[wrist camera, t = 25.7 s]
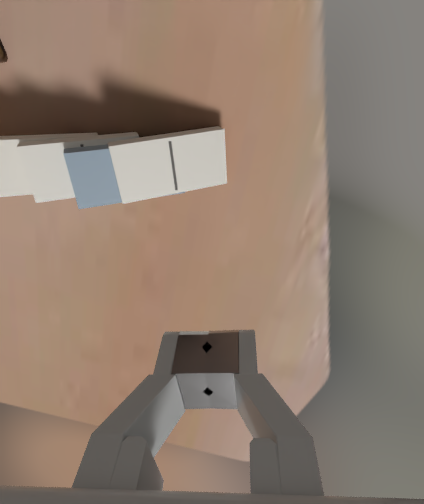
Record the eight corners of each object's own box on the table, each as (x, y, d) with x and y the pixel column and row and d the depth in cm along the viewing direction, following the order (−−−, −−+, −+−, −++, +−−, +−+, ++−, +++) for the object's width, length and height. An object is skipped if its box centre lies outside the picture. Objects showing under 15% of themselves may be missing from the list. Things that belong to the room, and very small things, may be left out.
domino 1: (105, 182, 33) (-5, 191, 30) (97, 132, 30) (-24, 136, 27) (105, 188, 31) (-9, 197, 28) (97, 136, 29) (-30, 141, 26)
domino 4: (221, 178, 31) (120, 197, 29) (218, 126, 29) (107, 142, 26) (226, 183, 30) (122, 204, 28) (224, 129, 27) (108, 146, 25)
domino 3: (180, 187, 32) (78, 202, 30) (176, 137, 30) (64, 148, 27) (184, 192, 31) (78, 209, 28) (181, 141, 28) (63, 153, 26)
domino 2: (143, 182, 32) (37, 196, 30) (136, 131, 30) (19, 142, 27) (146, 187, 31) (36, 202, 28) (138, 135, 28) (16, 146, 26)
